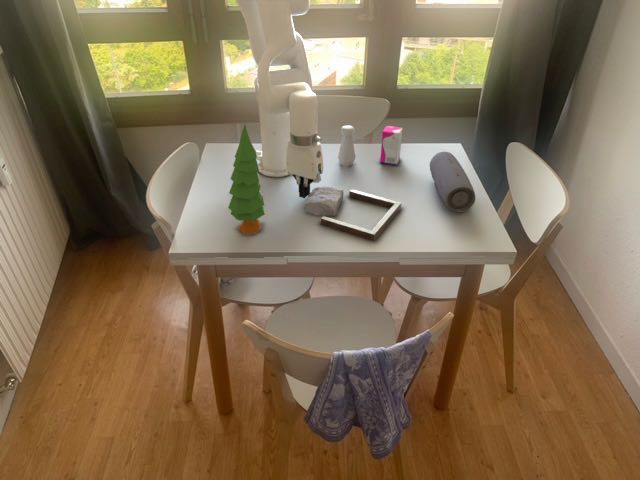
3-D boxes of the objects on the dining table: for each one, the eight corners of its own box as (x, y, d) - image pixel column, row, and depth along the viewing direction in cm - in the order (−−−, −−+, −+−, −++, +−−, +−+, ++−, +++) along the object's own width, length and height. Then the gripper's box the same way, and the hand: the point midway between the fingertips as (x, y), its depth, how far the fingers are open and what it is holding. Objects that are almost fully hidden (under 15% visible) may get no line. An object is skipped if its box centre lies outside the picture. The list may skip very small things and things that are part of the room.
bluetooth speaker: (474, 216, 140) (480, 184, 134) (441, 216, 140) (446, 185, 134) (454, 178, 158) (459, 149, 153) (425, 178, 158) (429, 149, 153)
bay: (320, 224, 136) (320, 218, 135) (351, 194, 149) (351, 189, 148) (373, 241, 129) (374, 234, 128) (400, 208, 143) (401, 202, 142)
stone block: (304, 219, 141) (338, 217, 138) (300, 204, 139) (335, 201, 136) (314, 200, 151) (346, 198, 148) (311, 185, 149) (343, 183, 146)
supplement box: (400, 158, 170) (403, 127, 164) (396, 166, 166) (399, 133, 159) (383, 156, 172) (386, 124, 165) (379, 163, 167) (382, 131, 161)
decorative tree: (267, 236, 131) (259, 128, 114) (231, 240, 129) (218, 131, 112) (264, 217, 138) (256, 114, 121) (230, 220, 137) (217, 116, 120)
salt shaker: (344, 158, 170) (345, 122, 163) (358, 162, 168) (360, 126, 160) (334, 164, 166) (335, 127, 159) (348, 168, 164) (350, 131, 156)
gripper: (334, 138, 135) (332, 196, 146) (288, 127, 141) (290, 184, 152) (320, 148, 130) (319, 208, 140) (273, 136, 136) (276, 194, 146)
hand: (304, 195), depth 146 cm, fingers closed
